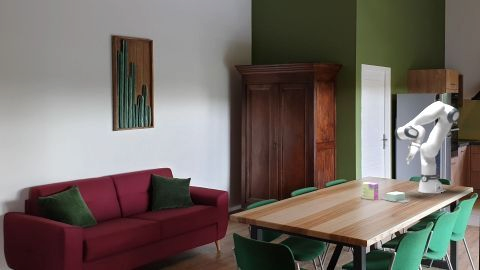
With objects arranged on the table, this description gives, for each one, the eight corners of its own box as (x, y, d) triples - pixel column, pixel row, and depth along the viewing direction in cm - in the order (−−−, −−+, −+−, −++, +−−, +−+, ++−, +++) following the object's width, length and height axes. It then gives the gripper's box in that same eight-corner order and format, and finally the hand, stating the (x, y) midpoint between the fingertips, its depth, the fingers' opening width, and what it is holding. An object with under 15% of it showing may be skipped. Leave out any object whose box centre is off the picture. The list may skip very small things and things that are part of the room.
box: (378, 199, 385) (378, 183, 385) (373, 200, 381) (373, 184, 381) (366, 197, 393) (366, 182, 392) (362, 198, 389) (362, 182, 389)
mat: (388, 197, 390) (388, 197, 390) (411, 201, 374) (411, 201, 374) (380, 199, 385) (380, 198, 385) (403, 203, 369) (403, 202, 369)
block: (395, 191, 386) (385, 193, 379) (405, 192, 380) (394, 194, 372) (395, 198, 386) (385, 200, 379) (405, 199, 380) (394, 201, 373)
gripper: (407, 148, 401) (401, 164, 398) (412, 142, 381) (405, 159, 379) (415, 151, 399) (409, 167, 397) (420, 145, 380) (414, 162, 377)
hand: (407, 163), depth 388 cm, fingers closed
